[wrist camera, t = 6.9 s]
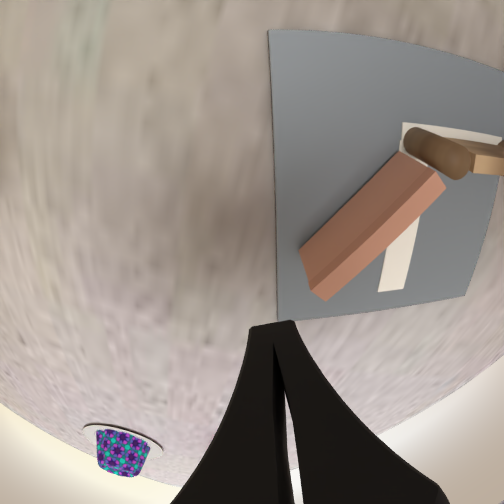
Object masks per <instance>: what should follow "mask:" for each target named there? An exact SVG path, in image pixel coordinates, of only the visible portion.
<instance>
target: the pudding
mask: <svg viewBox="0 0 504 504" xmlns="http://www.w3.org/2000/svg"><path fill="white" fill-rule="evenodd" d="M99 429H105V430H104V431H101V430H99ZM110 429H113V430H110ZM97 430H98V431H97ZM115 430H118V431H122V432H117V431H115ZM95 432H96V435H95ZM124 432H126V433H124ZM128 433H129V434H128ZM131 434H132V435H131ZM83 435H84V436H85V437H86V439H87V440H89V441H90V442H91V443H92V444H94V445H95V446H97V460H98V464H99V466H100V467H101V468H102V469H104V470H106V471H107V472H110V473H113V474H116V475H119V476H126V477H134V476H137V475H138V474H139V473H140V471H141V469H142V467H143V465H144V462H145V460H152V459H157V458H159V457H161V456H162V455H163V450H162V449H161V448H160V447H159V446H158V445H157V444H156V443H154V442H153V441H151V440H149V439H147V438H145V437H142V436H140V435H138V434H135V433H132V432H129V431H126V430H123V429H119V428H114V427H109V426H101V425H91V426H86V427H85V428H84V429H83ZM133 435H134V436H137V437H139V438H141V439H138V438H136V437H134V436H133ZM142 439H143V440H142ZM145 441H146V442H147V443H148V444H149V445H150V447H151V449H150V447H148V446H147V443H146V442H145Z"/></svg>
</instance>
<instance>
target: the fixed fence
mask: <svg viewBox="0 0 504 504" xmlns="http://www.w3.org/2000/svg"><path fill="white" fill-rule="evenodd" d="M403 144H404V148H405V150H406V151H407V153H409V154H410V155H412V156H414V157H415V158H417V159H419V160H421V161H422V162H424V163H426V164H428V165H429V166H431V167H433V168H434V169H436V170H438V171H439V172H441V173H443V174H444V175H446V176H447V177H449V178H451V179H453V180H459V179H462V178H463V177H464V176H465V175H466V174H467V172H468V171H470V172H472V173H479V174H490V175H500V176H504V140H502V141H500V142H499V143H498V145H494V144H488V143H482V142H476V141H470V140H463V139H456V138H448V137H442V136H439V135H437V134H434V133H432V132H429V131H427V130H424V129H422V128H419V127H413V128H410V129H409V130H408V131H407V132H406V133H405V136H404V139H403Z"/></svg>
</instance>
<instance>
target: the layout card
mask: <svg viewBox="0 0 504 504" xmlns="http://www.w3.org/2000/svg"><path fill="white" fill-rule="evenodd" d="M268 43H269V60H270V78H271V97H272V119H273V143H274V170H275V203H276V245H277V319H278V322H280V321H285V320H290V319H291V320H293V321H298V320H308V319H317V318H326V317H335V316H343V315H351V314H358V313H366V312H373V311H380V310H386V309H393V308H399V307H405V306H412V305H417V304H423V303H429V302H434V301H440V300H445V299H450V298H456V297H461V296H465V294H466V291H467V288H468V286H469V283H470V281H471V278H472V275H473V272H474V269H475V266H476V264H477V261H478V258H479V254H480V251H481V248H482V245H483V242H484V238H485V235H486V231H487V228H488V224H489V220H490V216H491V212H492V208H493V204H494V200H495V195H496V191H497V186H498V181H499V176H500V175H490V174H479V173H472V172H470V171H468V172H467V174H466V175H465V176H464V177H463V178H462V179H459V180H453V179H451V178H449V177H447V176H446V175H444V174H443V173H441V172H439V171H438V170H436V169H434V168H433V167H431V166H429V165H428V164H426V163H424V162H422V161H421V160H419V159H417V158H415V157H414V156H412V155H410V154H409V153H407V151H406V150H405V148H404V144H403V139H404V136H405V133H406V132H407V131H408V130H409V129H410V128H413V127H419V128H422V129H424V130H427V131H429V132H432V133H434V134H437V135H439V136H442V137H448V138H456V139H463V140H470V141H476V142H482V143H488V144H494V145H498V143H499V142H500V141H502V140H504V72H502V71H500V70H497V69H495V68H492V67H490V66H487V65H484V64H481V63H479V62H476V61H473V60H470V59H467V58H464V57H460V56H457V55H454V54H450V53H447V52H443V51H440V50H436V49H432V48H428V47H424V46H420V45H415V44H411V43H406V42H401V41H396V40H391V39H385V38H379V37H372V36H365V35H358V34H349V33H340V32H328V31H312V30H268ZM398 151H400V152H402V153H404V154H406V155H408V156H409V157H411V158H413V159H415V160H416V161H418V162H420V163H421V164H423V165H425V166H426V167H430V168H431V169H433V170H434V171H436V172H437V174H438V175H439V177H440V178H441V180H442V182H443V183H444V185H445V186H446V189H445V190H444V191H443V192H442V193H441V195H440V196H439V197H438V198H437V199H436V200H435V201H434V202H433V203H432V204H431V205H430V206H429V207H428V208H427V209H426V210H425V211H424V212H423V213H422V214H421V215H420V216H419V217H418V218H417V219H416V220H415V221H414V222H413V223H412V224H411V225H410V226H409V227H408V228H407V229H406V230H405V231H404V232H403V233H402V234H401V235H400V236H398V237H397V238H396V239H395V240H394V241H393V242H392V243H391V244H390V245H389V246H388V247H387V248H386V249H385V250H384V251H383V252H382V253H380V254H379V255H378V256H377V257H376V258H375V259H374V260H373V261H372V262H371V263H370V264H368V265H367V266H366V267H365V268H364V269H363V270H362V271H361V272H360V273H358V274H357V275H356V276H355V277H354V278H353V279H352V280H350V281H349V282H348V283H347V284H346V285H345V286H344V287H342V288H341V289H340V290H339V291H338V292H337V293H335V294H334V295H333V296H332V297H331V298H330V299H328V300H327V301H326V302H325V301H324V300H323V299H321V298H320V297H318V296H317V295H316V294H314V293H313V292H311V290H310V287H309V284H308V282H309V281H308V278H307V275H306V272H305V269H304V266H303V263H302V260H301V257H300V254H299V251H298V250H299V249H300V248H301V247H302V246H303V245H304V244H305V243H306V242H307V241H308V240H310V239H311V238H312V237H313V236H314V235H315V234H316V233H317V232H318V231H319V230H320V229H321V228H322V227H323V226H324V225H325V224H326V223H327V222H328V221H329V220H330V219H331V218H332V217H333V216H334V215H335V214H336V213H337V212H338V211H339V210H340V209H341V208H342V207H343V206H344V205H345V204H346V203H347V202H348V201H350V200H351V199H352V198H353V197H354V196H355V195H356V194H357V193H358V192H359V191H360V190H361V189H362V188H363V187H364V186H365V185H366V184H367V183H368V182H369V181H370V180H371V179H372V178H373V177H374V176H375V175H376V174H377V173H378V172H379V171H380V170H381V168H382V167H383V166H384V165H385V164H386V163H387V162H388V161H389V160H390V159H391V158H392V157H393V156H394V155H395V154H396V153H397V152H398Z"/></svg>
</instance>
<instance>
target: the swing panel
mask: <svg viewBox="0 0 504 504" xmlns="http://www.w3.org/2000/svg"><path fill="white" fill-rule="evenodd" d="M445 189H446V186H445V185H444V183H443V182H442V180H441V178H440V177H439V175H438V174H437V172H436V171H434V170H433V169H431V168H430V167H426V166H425V165H423V164H421V163H420V162H418V161H416V160H415V159H413V158H411V157H409V156H408V155H406V154H404V153H402V152H400V151H398V152H397V153H396V154H395V155H394V156H393V157H392V158H391V159H390V160H389V161H388V162H387V163H386V164H385V165H384V166H383V167H382V168H381V170H380V171H379V172H378V173H377V174H376V175H375V176H374V177H373V178H372V179H371V180H370V181H369V182H368V183H367V184H366V185H365V186H364V187H363V188H362V189H361V190H360V191H359V192H358V193H357V194H356V195H355V196H354V197H353V198H352V199H351V200H350V201H348V202H347V203H346V204H345V205H344V206H343V207H342V208H341V209H340V210H339V211H338V212H337V213H336V214H335V215H334V216H333V217H332V218H331V219H330V220H329V221H328V222H327V223H326V224H325V225H324V226H323V227H322V228H321V229H320V230H319V231H318V232H317V233H316V234H315V235H314V236H313V237H312V238H311V239H310V240H308V241H307V242H306V243H305V244H304V245H303V246H302V247H301V248H300V249H299V250H298V251H299V254H300V257H301V260H302V263H303V266H304V269H305V272H306V275H307V278H308V281H309V282H308V284H309V287H310V290H311V292H313V293H314V294H316V295H317V296H318V297H320V298H321V299H323V300H324V301H325V302H326V301H327V300H328V299H330V298H331V297H332V296H333V295H334V294H335V293H337V292H338V291H339V290H340V289H341V288H342V287H344V286H345V285H346V284H347V283H348V282H349V281H350V280H352V279H353V278H354V277H355V276H356V275H357V274H358V273H360V272H361V271H362V270H363V269H364V268H365V267H366V266H367V265H368V264H370V263H371V262H372V261H373V260H374V259H375V258H376V257H377V256H378V255H379V254H380V253H382V252H383V251H384V250H385V249H386V248H387V247H388V246H389V245H390V244H391V243H392V242H393V241H394V240H395V239H396V238H397V237H398V236H400V235H401V234H402V233H403V232H404V231H405V230H406V229H407V228H408V227H409V226H410V225H411V224H412V223H413V222H414V221H415V220H416V219H417V218H418V217H419V216H420V215H421V214H422V213H423V212H424V211H425V210H426V209H427V208H428V207H429V206H430V205H431V204H432V203H433V202H434V201H435V200H436V199H437V198H438V197H439V196H440V195H441V193H442V192H443V191H444V190H445Z"/></svg>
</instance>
